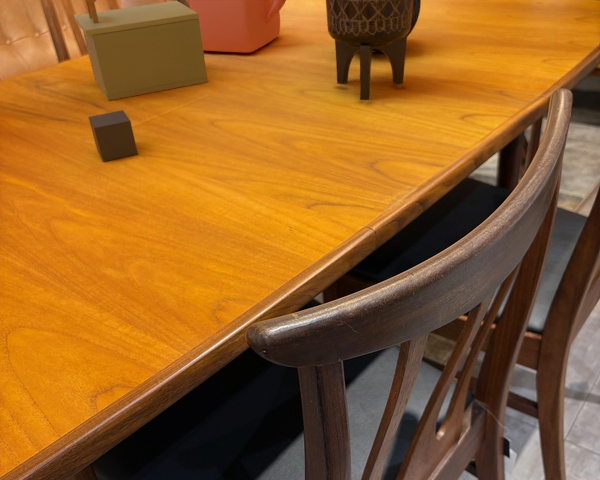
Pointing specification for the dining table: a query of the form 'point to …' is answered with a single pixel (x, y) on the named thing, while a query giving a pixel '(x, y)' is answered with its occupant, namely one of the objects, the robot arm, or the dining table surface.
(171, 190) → the dining table surface
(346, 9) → the planter
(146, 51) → the chest
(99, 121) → the block
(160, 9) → the lid
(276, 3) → the teapot
